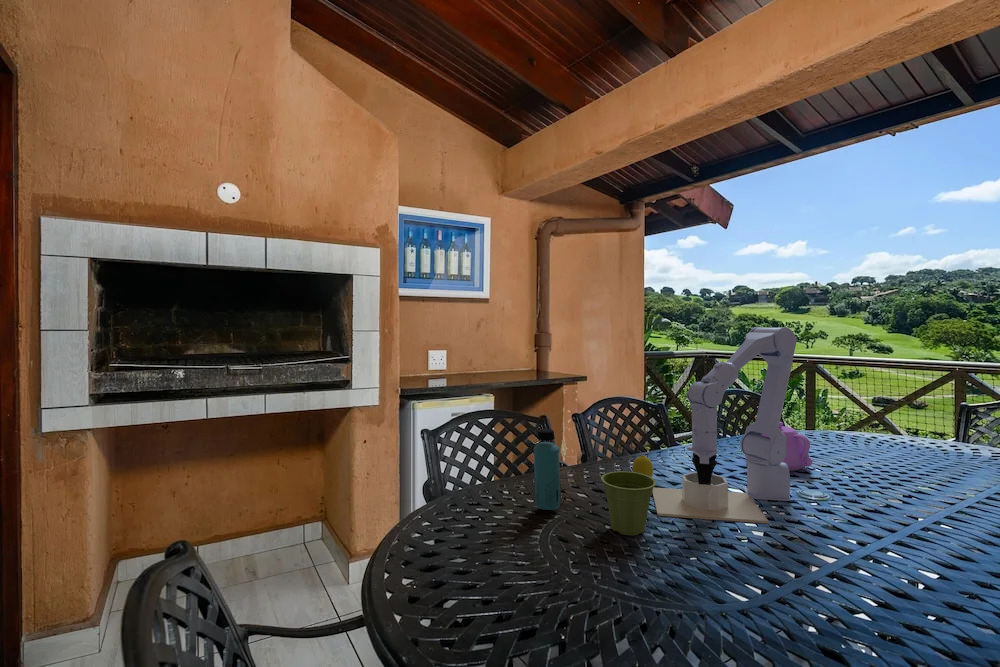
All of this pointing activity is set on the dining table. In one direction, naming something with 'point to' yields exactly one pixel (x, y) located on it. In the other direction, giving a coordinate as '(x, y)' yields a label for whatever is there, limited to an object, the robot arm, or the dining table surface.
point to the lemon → (643, 466)
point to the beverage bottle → (546, 472)
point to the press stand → (706, 501)
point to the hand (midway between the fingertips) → (704, 484)
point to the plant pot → (628, 500)
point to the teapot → (795, 448)
